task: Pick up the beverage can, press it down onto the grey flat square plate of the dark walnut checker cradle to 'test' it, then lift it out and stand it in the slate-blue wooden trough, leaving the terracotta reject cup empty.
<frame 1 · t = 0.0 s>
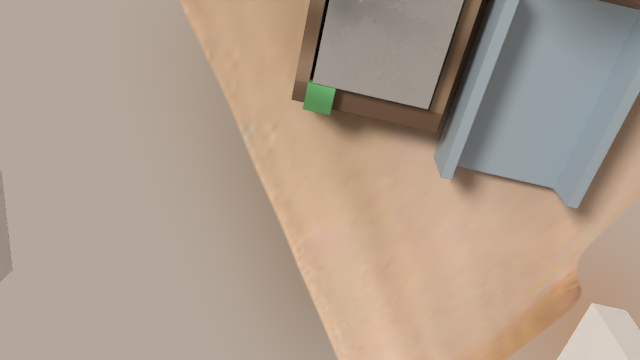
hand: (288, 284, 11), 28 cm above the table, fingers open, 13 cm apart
grey flat square plate: (385, 35, 32), point 3 cm above the table, slide at -0.7 cm
trough: (530, 90, 36), on the table
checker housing: (384, 27, 35), on the table
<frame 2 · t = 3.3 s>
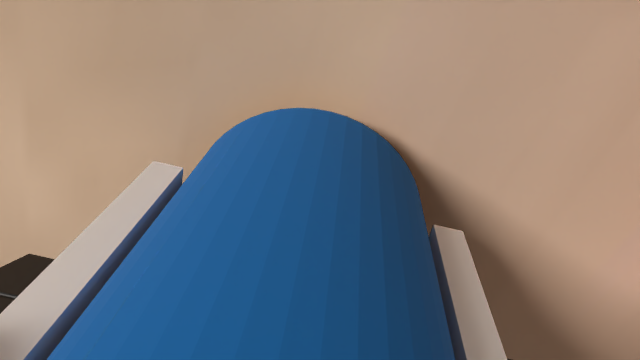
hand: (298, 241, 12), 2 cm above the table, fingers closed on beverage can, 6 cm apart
beverage can: (308, 201, 14), on the table, touching gripper
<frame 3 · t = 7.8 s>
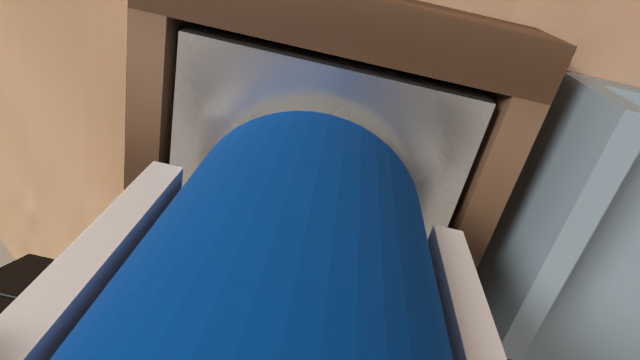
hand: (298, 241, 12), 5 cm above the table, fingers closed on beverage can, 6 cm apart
grey flat square plate: (308, 197, 14), point 2 cm above the table, slide at -1.6 cm, touching beverage can
trough: (616, 283, 18), on the table
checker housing: (316, 165, 17), on the table
beverage can: (308, 203, 14), point 3 cm above the table, touching grey flat square plate, gripper
when the fingers open (4 cm above the table, at t = 13.4 s): beverage can drops 1 cm, resting on trough.
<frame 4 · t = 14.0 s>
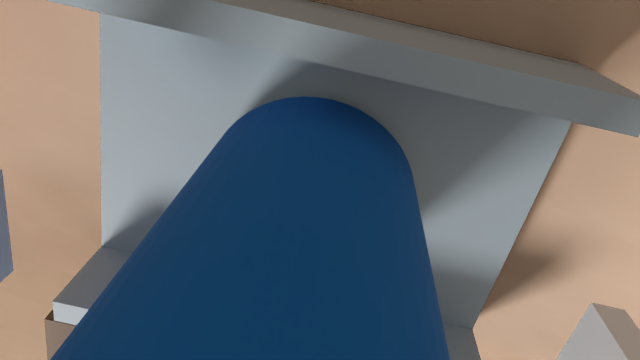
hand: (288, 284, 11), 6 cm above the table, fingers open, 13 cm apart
trough: (315, 169, 16), on the table
beverage can: (312, 183, 15), point 1 cm above the table, touching trough
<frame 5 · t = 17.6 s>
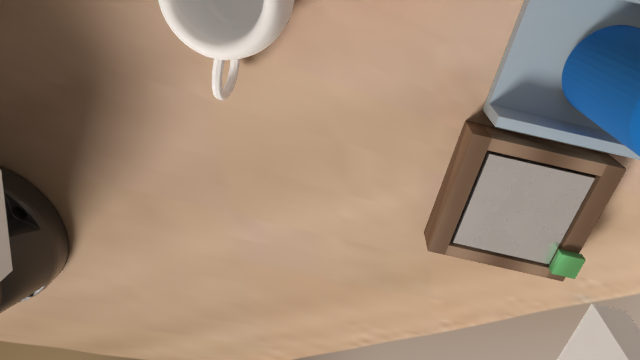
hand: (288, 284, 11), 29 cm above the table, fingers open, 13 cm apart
grey flat square plate: (518, 209, 38), point 2 cm above the table, slide at -1.6 cm
trough: (598, 64, 35), on the table
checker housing: (510, 195, 41), on the table
mug: (244, 9, 36), on the table
beverage can: (602, 68, 35), point 1 cm above the table, touching trough
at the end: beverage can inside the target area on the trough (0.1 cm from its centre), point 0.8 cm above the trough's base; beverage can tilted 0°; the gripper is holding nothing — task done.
